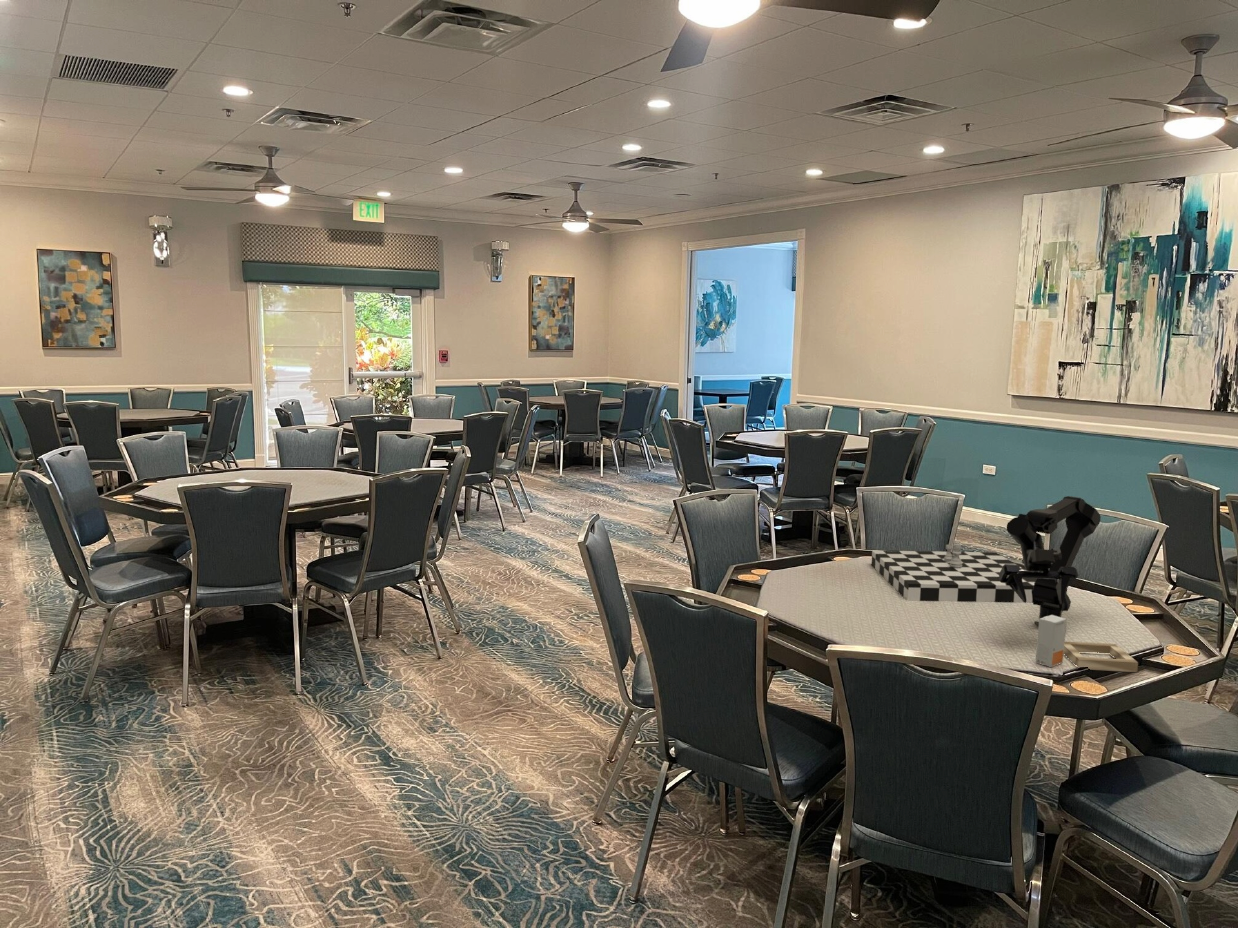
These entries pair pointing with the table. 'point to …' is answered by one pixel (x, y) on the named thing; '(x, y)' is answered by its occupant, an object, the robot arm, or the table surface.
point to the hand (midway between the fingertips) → (1043, 602)
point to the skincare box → (1050, 640)
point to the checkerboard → (948, 575)
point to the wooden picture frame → (1118, 664)
